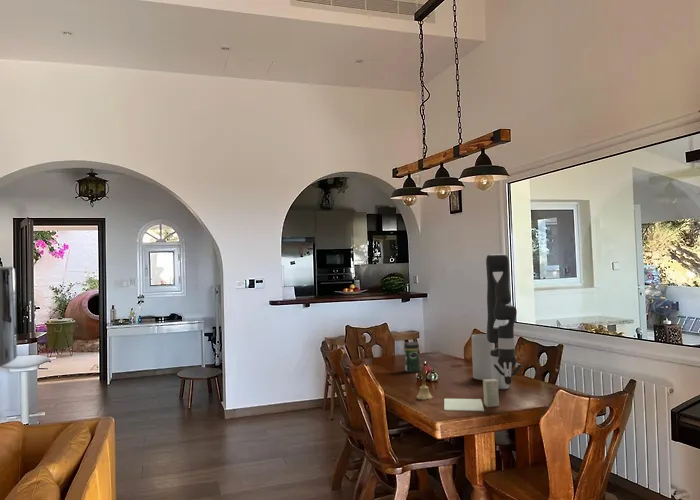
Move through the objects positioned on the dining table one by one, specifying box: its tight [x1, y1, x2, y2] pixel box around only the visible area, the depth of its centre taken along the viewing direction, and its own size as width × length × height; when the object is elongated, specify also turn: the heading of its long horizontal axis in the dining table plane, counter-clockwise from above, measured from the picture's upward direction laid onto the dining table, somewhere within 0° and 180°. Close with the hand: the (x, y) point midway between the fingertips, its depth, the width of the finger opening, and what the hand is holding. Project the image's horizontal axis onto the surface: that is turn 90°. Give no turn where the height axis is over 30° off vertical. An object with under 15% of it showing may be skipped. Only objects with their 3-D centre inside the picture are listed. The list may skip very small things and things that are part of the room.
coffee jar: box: [403, 341, 421, 373], centre depth 332 cm, size 10×8×19 cm
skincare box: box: [482, 379, 500, 408], centre depth 247 cm, size 6×4×12 cm
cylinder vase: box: [471, 333, 495, 381], centre depth 306 cm, size 12×12×25 cm
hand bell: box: [415, 365, 433, 401], centre depth 265 cm, size 8×8×16 cm
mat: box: [443, 398, 485, 412], centre depth 249 cm, size 20×18×1 cm
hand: (507, 384), depth 245 cm, fingers closed
